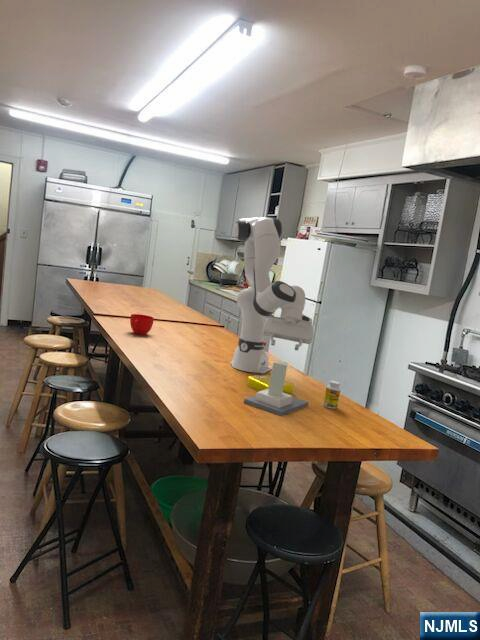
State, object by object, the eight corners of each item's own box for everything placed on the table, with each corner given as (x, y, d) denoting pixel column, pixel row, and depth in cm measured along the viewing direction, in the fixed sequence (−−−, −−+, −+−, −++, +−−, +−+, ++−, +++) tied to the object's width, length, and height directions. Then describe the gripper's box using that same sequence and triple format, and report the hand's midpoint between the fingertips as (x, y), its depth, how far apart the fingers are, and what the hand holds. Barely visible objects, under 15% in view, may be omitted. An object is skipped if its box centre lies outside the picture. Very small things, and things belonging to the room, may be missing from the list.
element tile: (268, 397, 197) (270, 385, 197) (244, 385, 209) (246, 374, 208) (294, 395, 207) (296, 384, 206) (270, 384, 218) (272, 373, 218)
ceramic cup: (121, 333, 272) (124, 315, 271) (133, 330, 289) (135, 313, 288) (144, 338, 270) (146, 320, 269) (154, 334, 287) (157, 317, 286)
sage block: (269, 390, 187) (274, 360, 186) (282, 393, 187) (287, 362, 185) (267, 394, 183) (273, 362, 181) (281, 397, 182) (287, 365, 180)
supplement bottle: (326, 408, 193) (331, 383, 192) (320, 403, 199) (325, 379, 197) (339, 409, 195) (344, 384, 193) (333, 405, 200) (338, 380, 199)
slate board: (272, 393, 201) (274, 383, 201) (307, 405, 193) (309, 394, 192) (243, 402, 183) (245, 390, 182) (281, 416, 174) (284, 403, 174)
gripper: (266, 310, 201) (258, 337, 193) (316, 319, 199) (311, 347, 191) (265, 319, 206) (258, 346, 198) (314, 329, 204) (309, 356, 196)
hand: (284, 347), depth 194 cm, fingers open, 8 cm apart
